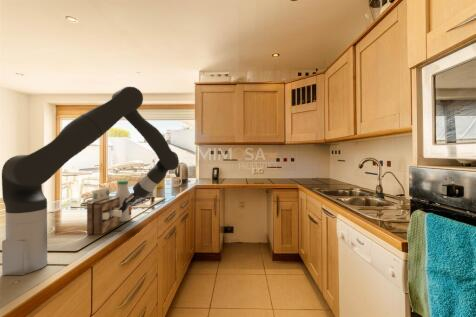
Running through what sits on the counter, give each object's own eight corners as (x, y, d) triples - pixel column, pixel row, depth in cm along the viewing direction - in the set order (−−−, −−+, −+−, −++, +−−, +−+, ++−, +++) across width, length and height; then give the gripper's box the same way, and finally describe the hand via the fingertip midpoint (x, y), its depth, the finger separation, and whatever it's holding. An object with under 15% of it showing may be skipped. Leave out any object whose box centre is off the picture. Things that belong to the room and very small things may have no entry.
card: (94, 202, 103) (94, 190, 103) (92, 202, 103) (92, 190, 103) (109, 197, 115) (109, 186, 115) (108, 197, 115) (108, 186, 115)
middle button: (118, 217, 107) (118, 210, 107) (107, 217, 107) (107, 210, 107) (122, 215, 110) (122, 209, 110) (111, 215, 110) (111, 209, 110)
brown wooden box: (100, 234, 101) (100, 203, 101) (87, 234, 102) (87, 203, 101) (119, 224, 116) (119, 197, 116) (107, 223, 117) (107, 196, 116)
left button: (105, 220, 102) (105, 213, 102) (94, 220, 103) (94, 213, 103) (109, 218, 105) (109, 211, 105) (98, 218, 106) (98, 211, 106)
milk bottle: (125, 222, 119) (125, 181, 119) (111, 221, 120) (111, 181, 120) (134, 218, 127) (134, 180, 126) (120, 217, 128) (120, 179, 127)
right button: (117, 214, 112) (117, 208, 112) (106, 214, 112) (106, 208, 112) (120, 213, 115) (120, 207, 115) (110, 213, 115) (110, 206, 115)
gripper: (146, 178, 119) (121, 203, 120) (133, 181, 106) (106, 209, 107) (156, 189, 119) (132, 213, 120) (145, 193, 106) (118, 221, 107)
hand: (120, 211), depth 113 cm, fingers closed
